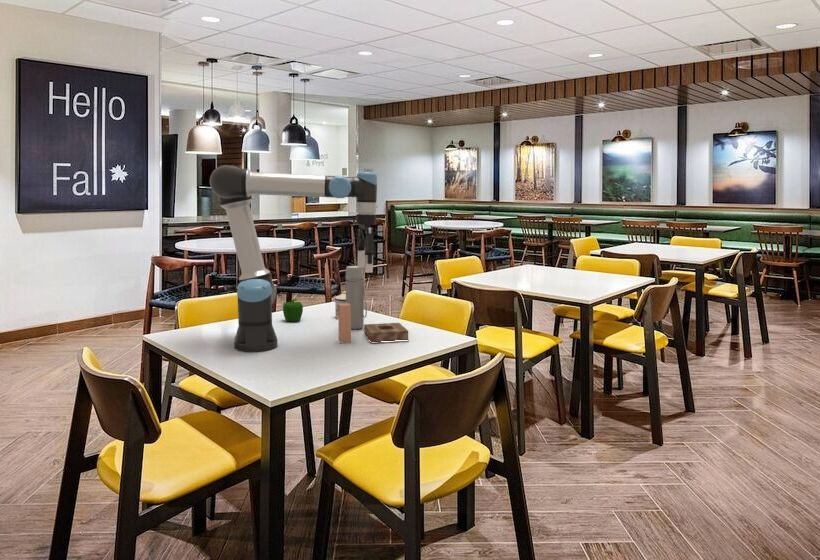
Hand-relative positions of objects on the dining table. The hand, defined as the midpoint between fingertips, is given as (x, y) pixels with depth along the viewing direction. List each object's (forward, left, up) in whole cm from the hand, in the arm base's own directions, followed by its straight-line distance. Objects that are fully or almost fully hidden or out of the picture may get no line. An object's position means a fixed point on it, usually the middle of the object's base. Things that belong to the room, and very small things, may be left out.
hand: (364, 269), depth 236 cm
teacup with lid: (-1, +32, -26) cm, 41 cm away
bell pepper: (-25, +31, -26) cm, 48 cm away
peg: (-9, -8, -26) cm, 28 cm away
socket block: (+7, -6, -26) cm, 27 cm away
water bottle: (-1, +12, -26) cm, 29 cm away
